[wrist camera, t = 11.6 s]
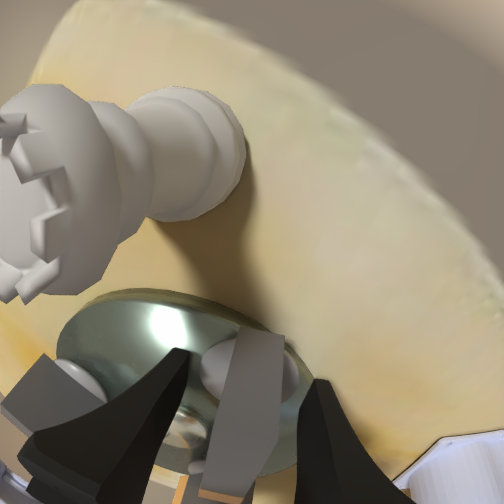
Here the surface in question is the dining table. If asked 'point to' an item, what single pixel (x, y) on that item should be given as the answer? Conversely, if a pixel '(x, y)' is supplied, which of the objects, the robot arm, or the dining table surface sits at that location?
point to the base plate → (156, 348)
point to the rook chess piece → (103, 178)
